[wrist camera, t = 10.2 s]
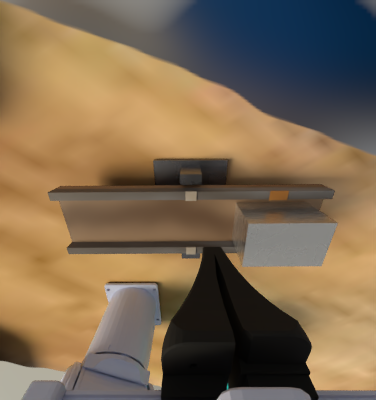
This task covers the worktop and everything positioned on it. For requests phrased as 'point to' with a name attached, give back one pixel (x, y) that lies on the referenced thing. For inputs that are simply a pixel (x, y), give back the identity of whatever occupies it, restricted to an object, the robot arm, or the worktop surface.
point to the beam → (165, 215)
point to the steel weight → (281, 234)
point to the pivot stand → (190, 175)
